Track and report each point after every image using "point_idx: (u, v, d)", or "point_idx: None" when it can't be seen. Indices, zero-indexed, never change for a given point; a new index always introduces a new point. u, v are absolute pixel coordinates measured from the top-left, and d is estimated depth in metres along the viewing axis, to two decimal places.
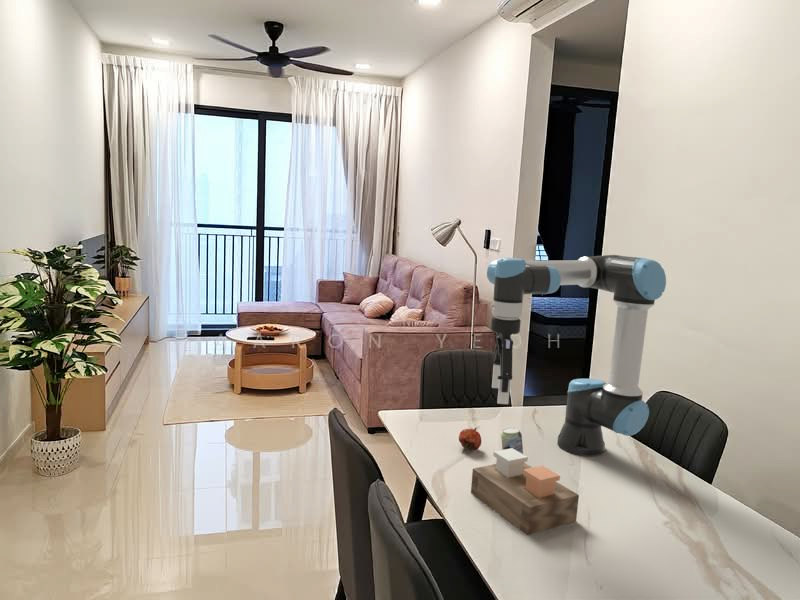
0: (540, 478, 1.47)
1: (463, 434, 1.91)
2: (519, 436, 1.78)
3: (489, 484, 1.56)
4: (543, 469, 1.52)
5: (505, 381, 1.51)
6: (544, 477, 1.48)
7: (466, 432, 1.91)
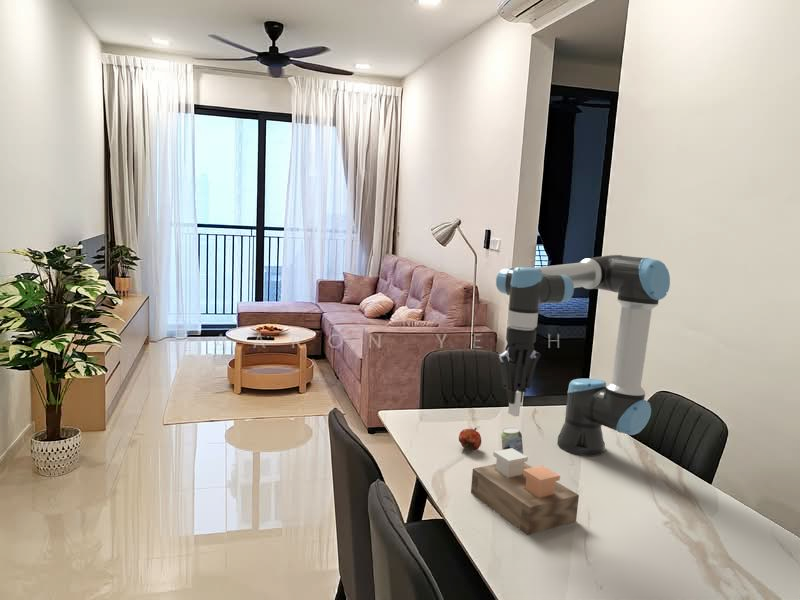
0: (540, 478, 1.47)
1: (463, 434, 1.91)
2: (519, 436, 1.78)
3: (489, 484, 1.56)
4: (543, 469, 1.52)
5: (509, 392, 1.57)
6: (544, 477, 1.48)
7: (466, 432, 1.91)
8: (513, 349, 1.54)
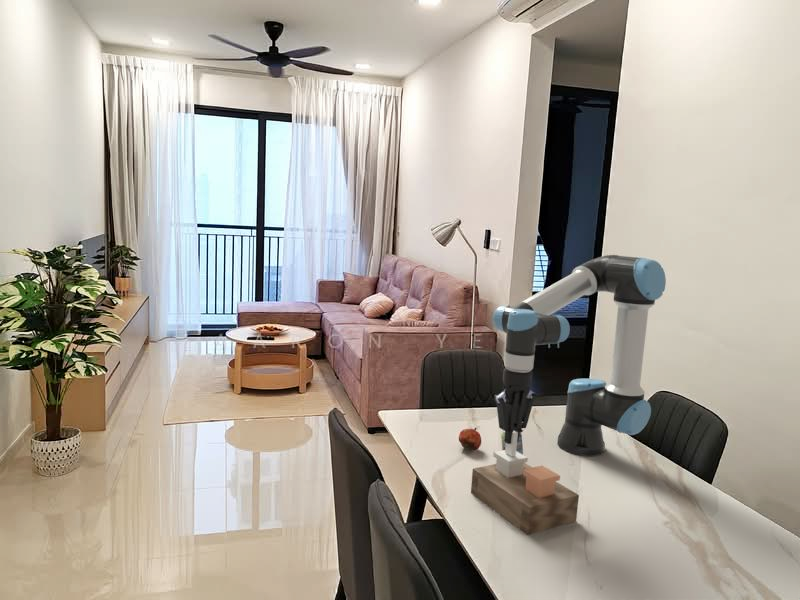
0: (540, 478, 1.47)
1: (463, 434, 1.91)
2: (519, 436, 1.78)
3: (489, 484, 1.56)
4: (543, 469, 1.52)
5: (506, 432, 1.59)
6: (544, 477, 1.48)
7: (466, 432, 1.91)
8: (509, 391, 1.56)
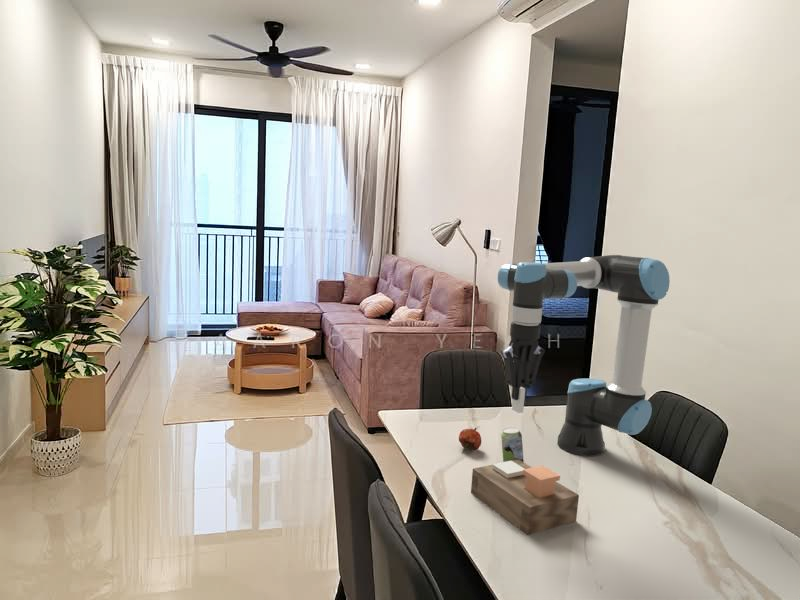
0: (540, 478, 1.47)
1: (463, 434, 1.91)
2: (519, 436, 1.78)
3: (489, 484, 1.56)
4: (543, 469, 1.52)
5: (513, 388, 1.56)
6: (544, 477, 1.48)
7: (466, 432, 1.91)
8: (517, 345, 1.53)
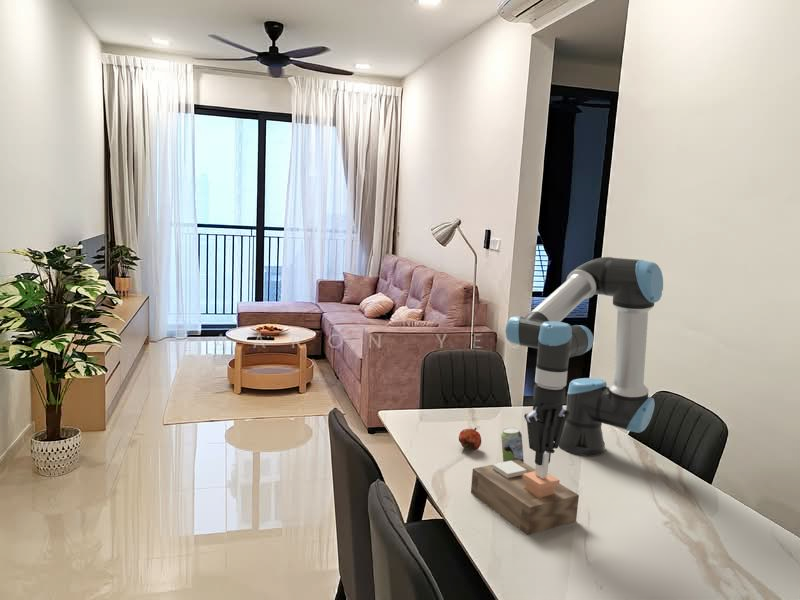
0: (539, 482, 1.47)
1: (463, 434, 1.91)
2: (519, 436, 1.78)
3: (489, 484, 1.56)
4: None
5: (537, 453, 1.49)
6: (544, 481, 1.48)
7: (466, 432, 1.91)
8: (541, 409, 1.45)
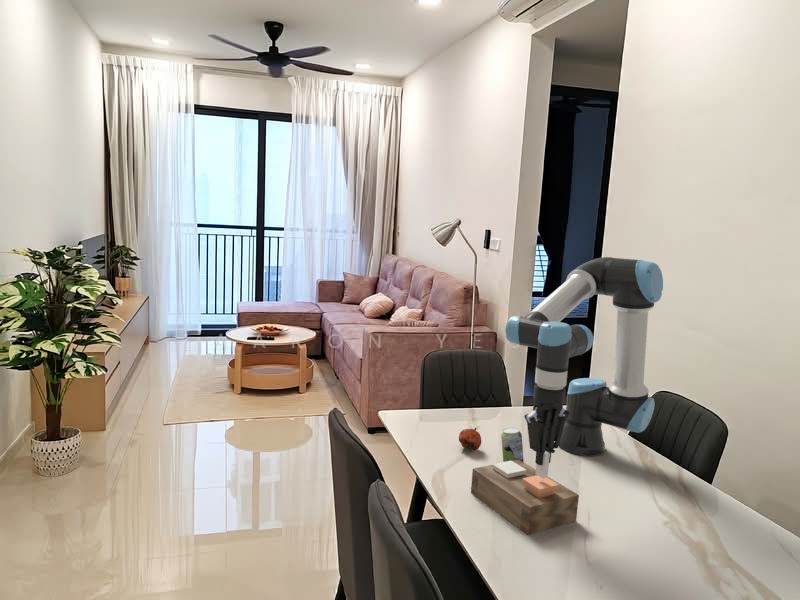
0: (539, 487, 1.48)
1: (463, 434, 1.91)
2: (519, 436, 1.78)
3: (489, 484, 1.56)
4: (542, 478, 1.52)
5: (537, 453, 1.49)
6: (543, 486, 1.48)
7: (466, 432, 1.91)
8: (541, 409, 1.46)
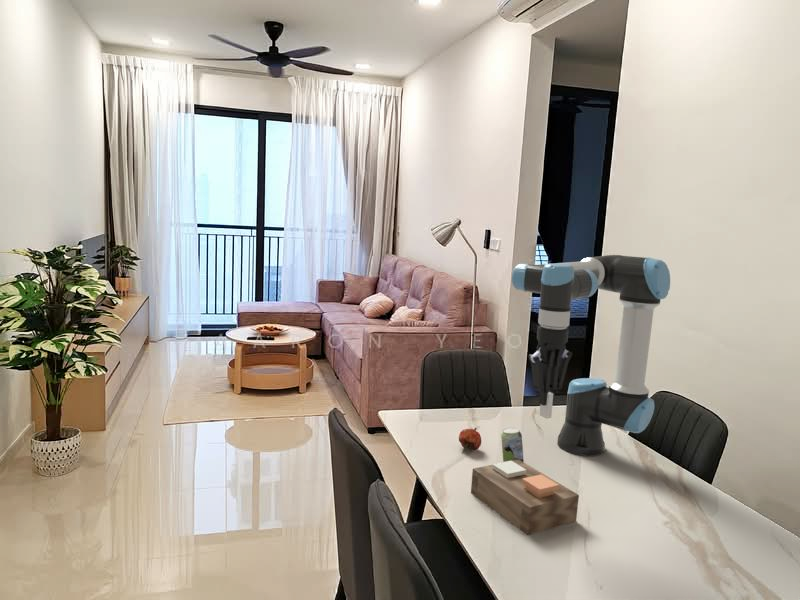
0: (539, 487, 1.48)
1: (463, 434, 1.91)
2: (519, 436, 1.78)
3: (489, 484, 1.56)
4: (542, 478, 1.52)
5: (541, 393, 1.51)
6: (543, 486, 1.48)
7: (466, 432, 1.91)
8: (545, 349, 1.48)
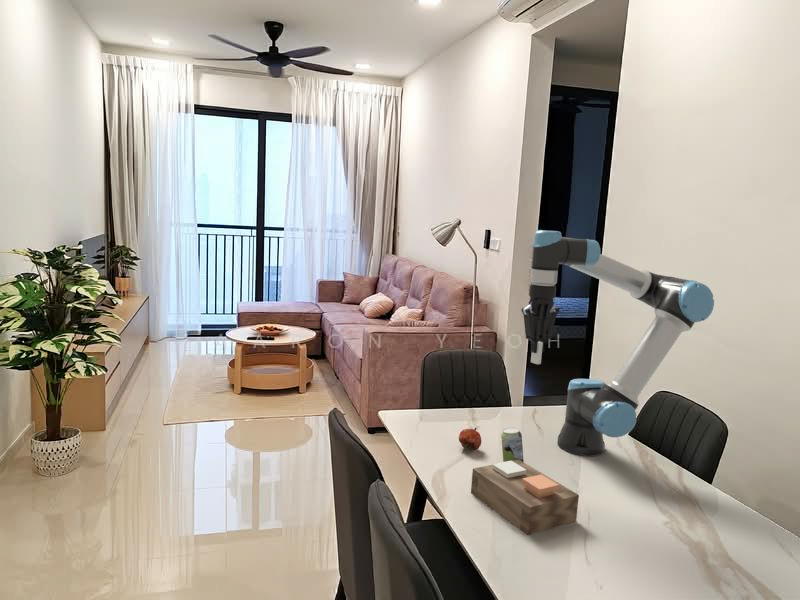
0: (539, 487, 1.48)
1: (463, 434, 1.91)
2: (519, 436, 1.78)
3: (489, 484, 1.56)
4: (542, 478, 1.52)
5: (532, 342, 1.76)
6: (543, 486, 1.48)
7: (466, 432, 1.91)
8: (535, 303, 1.73)
